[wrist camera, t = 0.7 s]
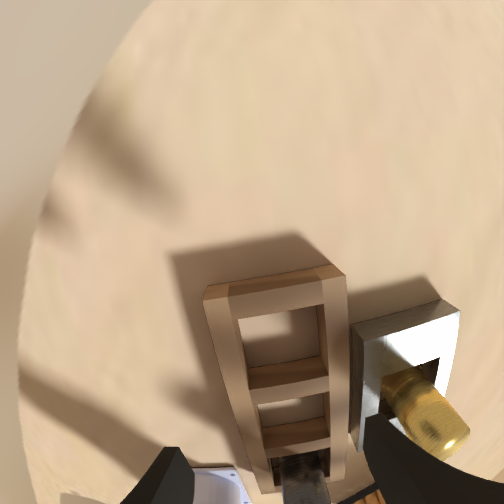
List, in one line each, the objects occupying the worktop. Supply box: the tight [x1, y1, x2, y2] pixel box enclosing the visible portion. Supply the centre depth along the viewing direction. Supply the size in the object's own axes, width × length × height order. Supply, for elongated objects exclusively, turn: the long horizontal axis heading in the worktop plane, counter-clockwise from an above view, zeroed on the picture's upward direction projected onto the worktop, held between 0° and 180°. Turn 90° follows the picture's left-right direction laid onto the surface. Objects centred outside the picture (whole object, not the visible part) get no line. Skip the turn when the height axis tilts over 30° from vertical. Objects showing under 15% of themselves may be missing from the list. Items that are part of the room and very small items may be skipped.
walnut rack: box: [202, 264, 350, 494], centre depth 19 cm, size 21×8×2 cm, turn 10°
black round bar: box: [278, 450, 331, 504], centre depth 17 cm, size 4×4×9 cm
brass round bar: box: [380, 365, 470, 461], centre depth 16 cm, size 4×4×9 cm
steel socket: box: [350, 299, 460, 452], centre depth 19 cm, size 12×8×2 cm, turn 10°
